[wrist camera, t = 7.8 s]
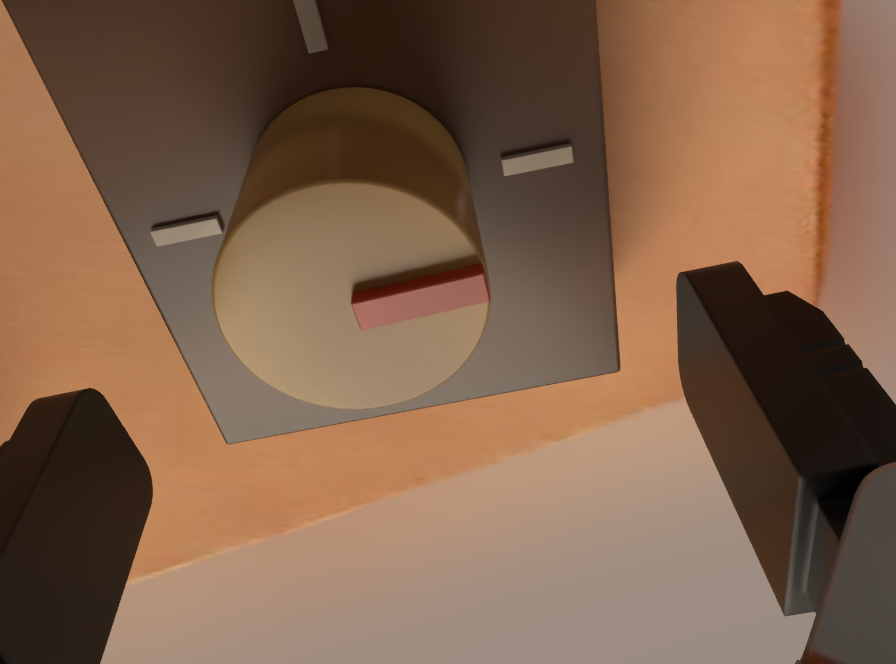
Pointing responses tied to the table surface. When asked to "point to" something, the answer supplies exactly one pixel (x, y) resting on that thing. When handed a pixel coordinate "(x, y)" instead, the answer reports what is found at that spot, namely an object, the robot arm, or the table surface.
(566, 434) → the table surface
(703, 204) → the table surface
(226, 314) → the dial
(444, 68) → the panel
